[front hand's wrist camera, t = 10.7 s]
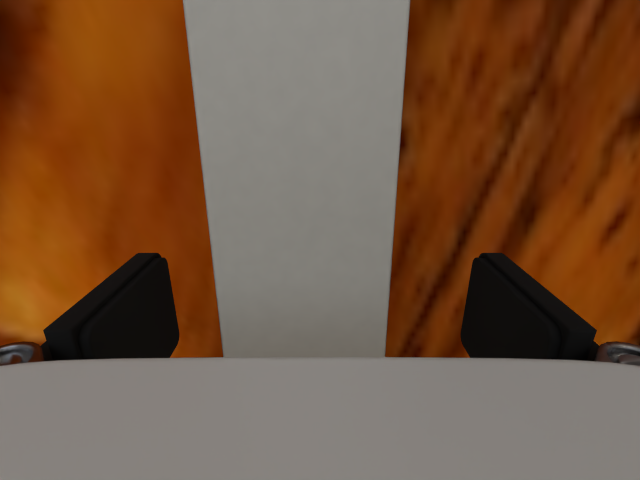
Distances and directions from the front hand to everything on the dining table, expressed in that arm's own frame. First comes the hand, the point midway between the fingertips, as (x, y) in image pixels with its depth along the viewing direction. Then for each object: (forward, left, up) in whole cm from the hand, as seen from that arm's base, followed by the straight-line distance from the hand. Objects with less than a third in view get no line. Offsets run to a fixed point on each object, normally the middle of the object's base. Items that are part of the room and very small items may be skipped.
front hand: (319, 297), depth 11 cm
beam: (+23, -4, -8) cm, 24 cm away
